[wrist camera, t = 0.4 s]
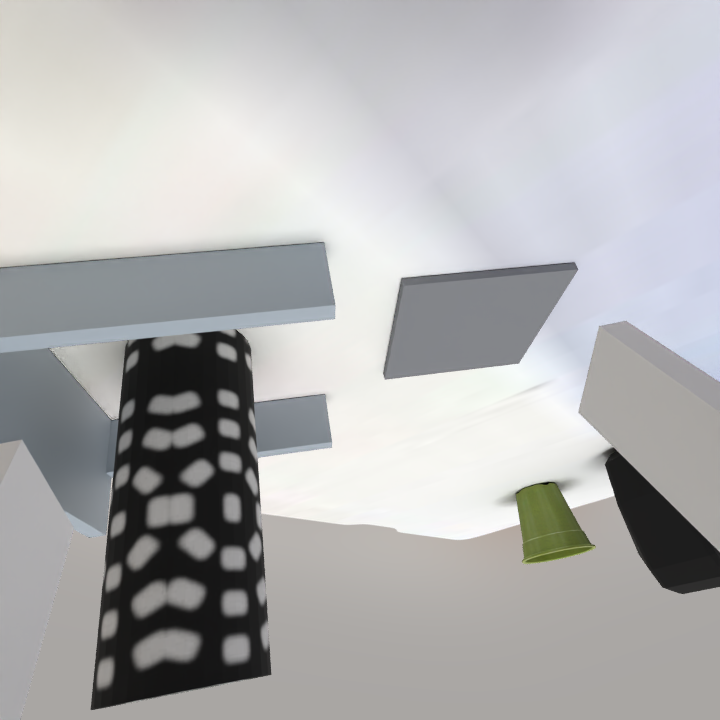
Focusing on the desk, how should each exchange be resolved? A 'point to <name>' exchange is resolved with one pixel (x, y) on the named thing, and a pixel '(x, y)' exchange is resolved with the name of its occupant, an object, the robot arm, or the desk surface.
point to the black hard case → (663, 533)
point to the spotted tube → (183, 525)
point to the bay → (137, 321)
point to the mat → (471, 318)
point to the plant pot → (548, 525)
